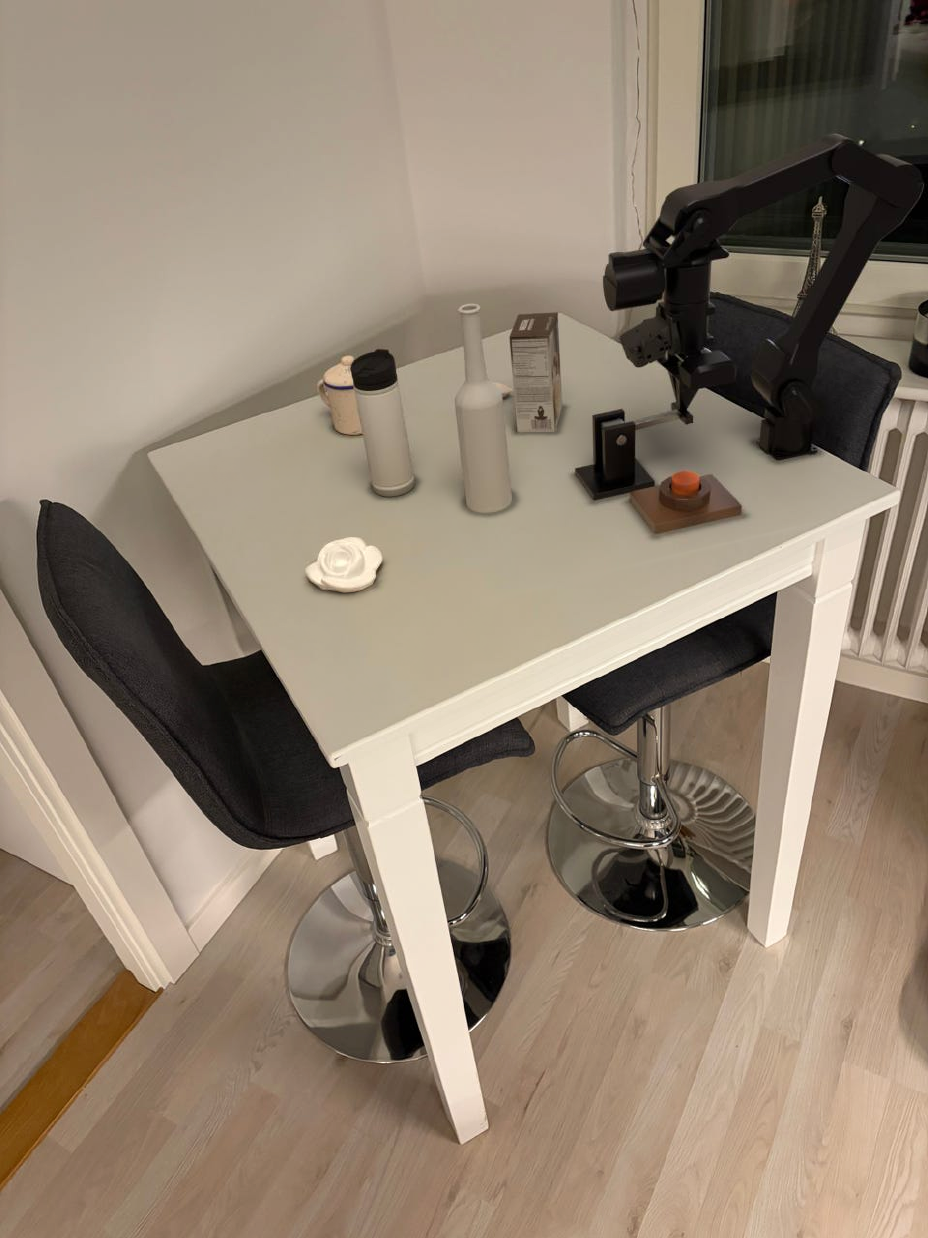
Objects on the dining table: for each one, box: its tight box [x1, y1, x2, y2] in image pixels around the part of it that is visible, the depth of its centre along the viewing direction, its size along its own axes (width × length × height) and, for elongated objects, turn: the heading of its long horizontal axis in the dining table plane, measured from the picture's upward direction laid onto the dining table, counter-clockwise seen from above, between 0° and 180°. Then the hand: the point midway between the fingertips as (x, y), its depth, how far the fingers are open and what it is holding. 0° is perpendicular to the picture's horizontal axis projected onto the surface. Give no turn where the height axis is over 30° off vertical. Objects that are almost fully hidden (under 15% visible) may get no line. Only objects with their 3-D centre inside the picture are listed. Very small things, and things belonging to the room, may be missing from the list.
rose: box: [304, 536, 383, 593], centre depth 120 cm, size 10×4×10 cm
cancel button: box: [671, 470, 700, 495], centre depth 123 cm, size 4×4×2 cm
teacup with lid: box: [316, 355, 363, 436], centre depth 153 cm, size 12×9×12 cm
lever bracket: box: [574, 408, 656, 501], centre depth 129 cm, size 9×8×10 cm
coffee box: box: [508, 311, 563, 433], centre depth 145 cm, size 9×6×16 cm
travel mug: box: [350, 348, 416, 498], centre depth 132 cm, size 6×7×20 cm
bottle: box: [454, 303, 513, 514], centre depth 123 cm, size 7×7×28 cm
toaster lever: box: [601, 401, 694, 438], centre depth 128 cm, size 12×5×2 cm, turn 103°
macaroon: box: [492, 381, 514, 399], centre depth 157 cm, size 4×5×2 cm
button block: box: [629, 473, 743, 535], centre depth 124 cm, size 12×9×4 cm
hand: (682, 409), depth 128 cm, fingers closed, pressing on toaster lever
